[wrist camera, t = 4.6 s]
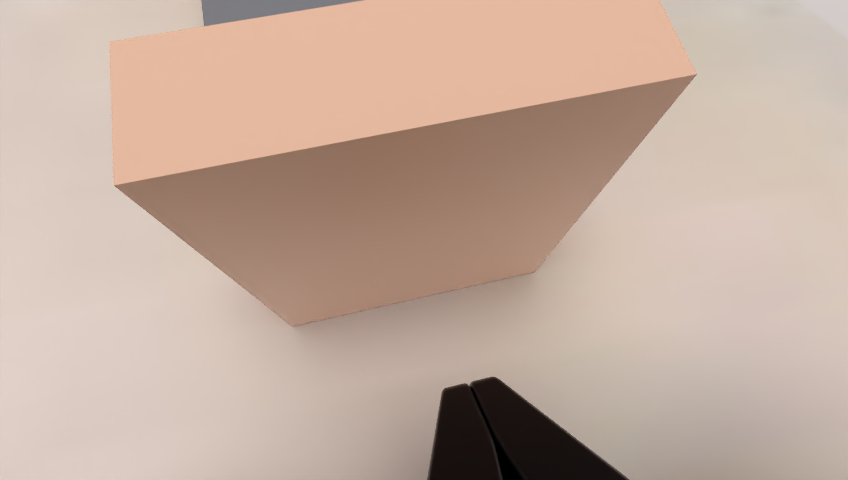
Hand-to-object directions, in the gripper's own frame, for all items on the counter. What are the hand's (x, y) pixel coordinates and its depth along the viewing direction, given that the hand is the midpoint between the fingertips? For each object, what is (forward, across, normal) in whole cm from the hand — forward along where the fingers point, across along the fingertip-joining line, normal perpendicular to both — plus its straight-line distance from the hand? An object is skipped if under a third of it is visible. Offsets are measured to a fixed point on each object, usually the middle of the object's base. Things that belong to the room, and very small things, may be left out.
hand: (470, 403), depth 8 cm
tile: (+9, 0, +2) cm, 9 cm away
